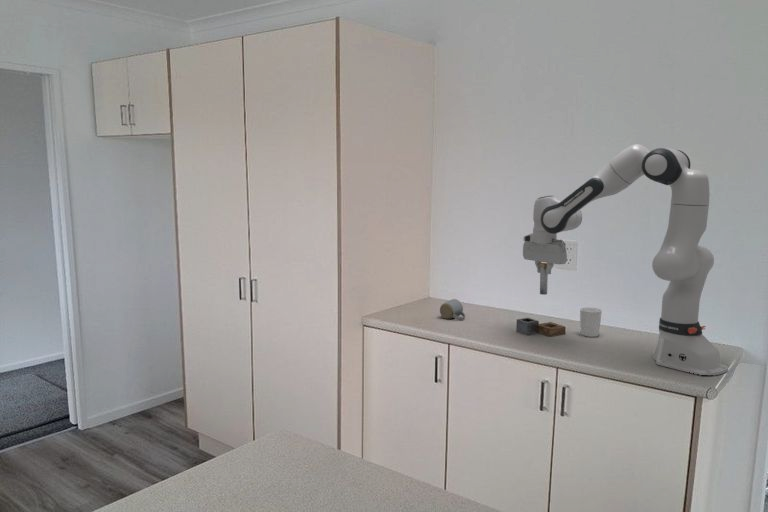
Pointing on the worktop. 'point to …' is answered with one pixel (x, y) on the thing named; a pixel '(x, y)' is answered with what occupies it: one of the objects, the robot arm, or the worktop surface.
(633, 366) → the worktop surface
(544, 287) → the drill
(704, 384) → the worktop surface
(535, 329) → the socket block
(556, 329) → the block
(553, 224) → the robot arm
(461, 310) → the ceramic mug
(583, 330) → the white cup
